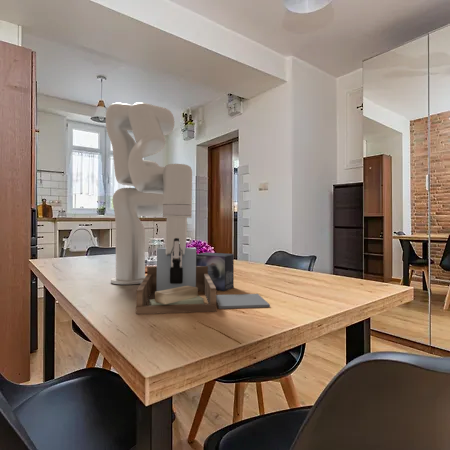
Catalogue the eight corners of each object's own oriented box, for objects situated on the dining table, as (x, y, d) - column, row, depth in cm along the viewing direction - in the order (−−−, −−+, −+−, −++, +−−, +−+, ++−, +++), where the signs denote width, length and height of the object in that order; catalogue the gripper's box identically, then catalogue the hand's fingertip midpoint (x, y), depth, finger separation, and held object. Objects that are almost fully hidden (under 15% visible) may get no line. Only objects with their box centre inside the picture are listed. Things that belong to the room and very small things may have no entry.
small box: (193, 288, 99) (194, 253, 99) (205, 284, 105) (205, 252, 105) (224, 291, 94) (224, 255, 94) (234, 287, 100) (234, 253, 100)
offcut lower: (149, 310, 75) (149, 299, 75) (199, 306, 79) (199, 295, 79) (151, 314, 72) (151, 303, 72) (203, 309, 76) (203, 299, 76)
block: (157, 288, 87) (157, 247, 87) (195, 288, 88) (195, 247, 88) (156, 291, 83) (156, 248, 83) (195, 291, 84) (196, 248, 84)
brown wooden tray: (147, 291, 94) (147, 266, 94) (207, 289, 97) (207, 266, 97) (136, 314, 70) (136, 281, 70) (216, 311, 72) (216, 279, 72)
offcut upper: (154, 301, 73) (154, 291, 73) (187, 294, 81) (187, 285, 80) (165, 304, 70) (165, 294, 70) (197, 296, 78) (197, 287, 78)
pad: (213, 297, 86) (213, 295, 86) (257, 296, 88) (257, 293, 88) (218, 308, 74) (218, 306, 74) (269, 307, 76) (269, 304, 76)
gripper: (164, 212, 93) (163, 276, 93) (160, 211, 77) (159, 288, 77) (190, 212, 94) (189, 276, 94) (192, 211, 78) (191, 288, 78)
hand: (176, 281), depth 86 cm, fingers closed on block, 3 cm apart
